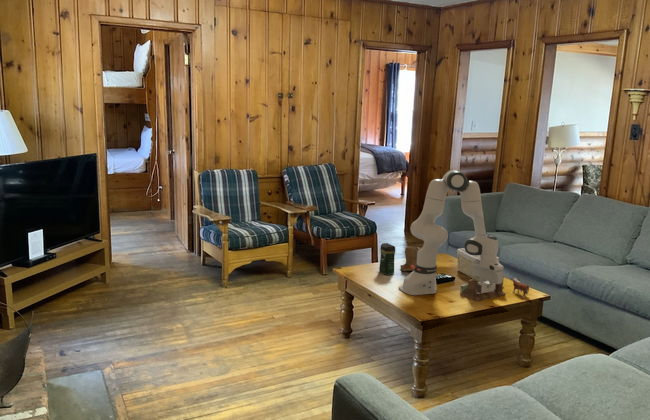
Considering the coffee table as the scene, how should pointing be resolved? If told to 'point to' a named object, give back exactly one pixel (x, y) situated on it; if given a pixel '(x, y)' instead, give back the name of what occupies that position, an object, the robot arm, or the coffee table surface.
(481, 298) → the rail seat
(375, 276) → the coffee table surface
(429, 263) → the robot arm
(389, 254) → the coffee jar
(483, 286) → the rail bar
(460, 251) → the storage basket
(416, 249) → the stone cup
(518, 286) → the bull figurine
